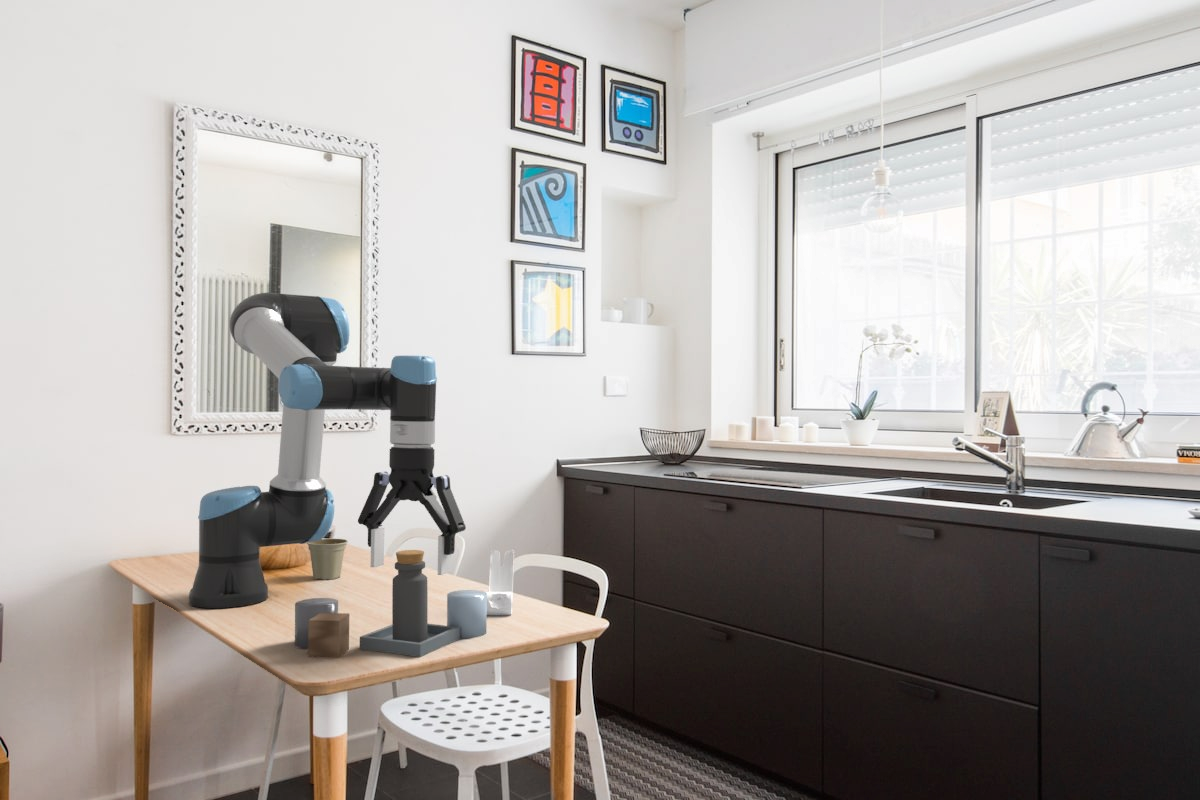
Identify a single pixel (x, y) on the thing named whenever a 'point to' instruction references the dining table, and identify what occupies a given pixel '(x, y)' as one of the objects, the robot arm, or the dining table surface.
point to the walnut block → (328, 635)
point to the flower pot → (327, 557)
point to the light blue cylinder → (467, 612)
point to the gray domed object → (310, 616)
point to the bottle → (409, 597)
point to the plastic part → (500, 584)
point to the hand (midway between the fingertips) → (409, 569)
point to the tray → (386, 643)
